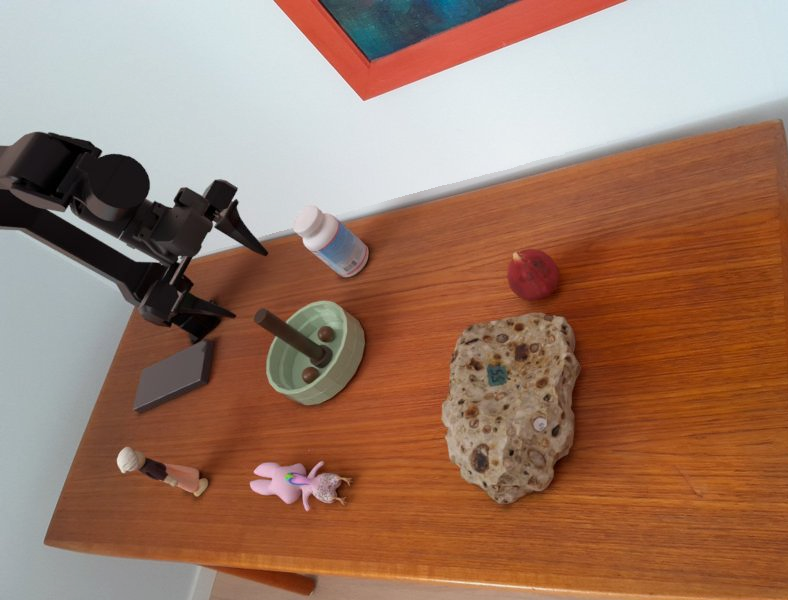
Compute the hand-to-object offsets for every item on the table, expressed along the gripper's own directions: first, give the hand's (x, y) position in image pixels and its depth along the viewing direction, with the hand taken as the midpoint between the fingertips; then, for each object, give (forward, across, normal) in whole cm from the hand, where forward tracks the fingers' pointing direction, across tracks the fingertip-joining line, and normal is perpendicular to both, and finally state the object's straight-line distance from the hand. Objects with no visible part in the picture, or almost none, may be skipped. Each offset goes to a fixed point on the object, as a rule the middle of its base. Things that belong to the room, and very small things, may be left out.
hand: (251, 285), depth 84 cm
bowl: (+15, -3, +4) cm, 16 cm away
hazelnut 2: (+13, 0, +4) cm, 14 cm away
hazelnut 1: (+13, -6, +3) cm, 15 cm away
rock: (+27, -5, -28) cm, 39 cm away
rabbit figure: (+17, -20, -2) cm, 27 cm away
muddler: (+14, -3, +4) cm, 15 cm away
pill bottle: (+14, +13, +8) cm, 21 cm away
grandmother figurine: (+10, -25, +18) cm, 32 cm away
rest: (+3, -11, +35) cm, 37 cm away
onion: (+26, +10, -25) cm, 37 cm away
